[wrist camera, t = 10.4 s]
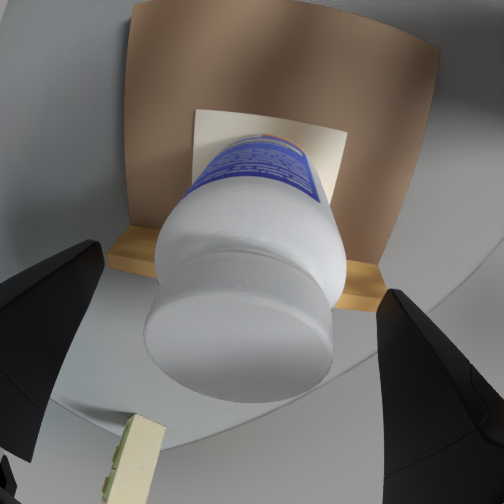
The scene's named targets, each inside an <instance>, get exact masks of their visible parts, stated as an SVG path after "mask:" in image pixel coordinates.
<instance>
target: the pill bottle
mask: <svg viewBox="0 0 504 504" xmlns="http://www.w3.org/2000/svg"><path fill="white" fill-rule="evenodd" d="M155 269H156V275H157V279H158V282H159V285H160V289H159V291H158V293H157V295H156V297H155V299H154V302H153V304H152V306H151V309H150V311H149V314H148V316H147V318H146V321H145V325H144V332H143V336H144V342H145V346H146V349H147V351H148V353H149V355H150V356H151V358H152V360H153V361H154V362H155V363H156V365H157V366H158V367H159V368H160V369H161V370H162V371H163V372H164V373H165V374H166V375H168V376H169V377H170V378H172V379H173V380H175V381H176V382H178V383H179V384H181V385H183V386H184V387H187V388H189V389H191V390H193V391H195V392H198V393H200V394H203V395H206V396H210V397H213V398H216V399H221V400H226V401H232V402H241V403H265V402H274V401H280V400H285V399H288V398H292V397H295V396H298V395H300V394H302V393H304V392H306V391H308V390H310V389H312V388H313V387H315V386H316V385H317V384H319V383H320V382H321V381H322V380H323V379H324V377H325V376H326V375H327V374H328V372H329V370H330V368H331V365H332V363H333V358H334V343H333V331H332V314H331V311H332V310H333V309H334V307H335V306H336V304H337V303H338V301H339V298H340V296H341V294H342V291H343V289H344V285H345V279H346V254H345V250H344V246H343V243H342V239H341V236H340V234H339V231H338V228H337V225H336V222H335V219H334V216H333V214H332V211H331V208H330V205H329V203H328V200H327V197H326V194H325V192H324V189H323V186H322V184H321V181H320V178H319V175H318V173H317V170H316V168H315V166H314V164H313V162H312V160H311V159H310V157H309V156H308V155H307V153H306V152H305V151H304V150H303V149H302V148H301V147H299V146H298V145H297V144H295V143H294V142H292V141H291V140H289V139H286V138H284V137H281V136H278V135H273V134H252V135H247V136H243V137H241V138H238V139H236V140H234V141H232V142H231V143H229V144H228V145H226V146H225V147H224V148H223V149H222V150H221V151H220V152H219V153H218V154H217V155H216V156H215V157H214V159H213V160H212V161H211V162H210V163H209V165H208V166H207V167H206V168H205V170H204V171H203V172H202V173H201V175H200V176H199V177H198V178H197V179H196V181H195V182H194V183H193V185H192V186H191V187H190V188H189V190H188V191H187V192H186V194H185V195H184V196H183V197H182V199H181V200H180V201H179V203H178V204H177V205H176V207H175V208H174V209H173V211H172V212H171V214H170V215H169V216H168V218H167V220H166V221H165V223H164V225H163V227H162V229H161V231H160V233H159V236H158V239H157V244H156V249H155Z"/></svg>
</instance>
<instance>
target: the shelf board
mask: <svg viewBox="0 0 504 504" xmlns="http://www.w3.org/2000/svg"><path fill="white" fill-rule="evenodd" d="M439 57H440V48H438V47H436V46H434V45H432V44H430V43H428V42H426V41H424V40H422V39H420V38H418V37H416V36H413V35H411V34H409V33H406V32H404V31H402V30H399V29H397V28H394V27H392V26H389V25H386V24H383V23H381V22H378V21H375V20H372V19H369V18H366V17H363V16H359V15H356V14H353V13H349V12H345V11H342V10H338V9H334V8H329V7H325V6H320V5H315V4H310V3H305V2H299V1H293V0H153V1H147V2H141V3H135V4H134V5H133V11H132V17H131V24H130V31H129V40H128V49H127V60H126V73H125V93H124V150H125V171H126V186H127V198H128V208H129V217H130V226H129V227H128V228H127V230H126V231H125V232H124V233H123V234H122V235H121V237H120V238H119V239H118V240H117V241H116V242H115V244H114V245H113V246H112V247H111V248H110V250H109V251H108V252H107V253H106V255H107V259H108V264H109V268H111V269H115V270H119V271H124V272H129V273H133V274H138V275H143V276H147V277H152V278H157V275H156V269H155V249H156V244H157V239H158V236H159V233H160V231H161V229H162V227H163V225H164V223H165V221H166V220H167V218H168V216H169V215H170V214H171V212H172V211H173V209H174V208H175V207H176V205H177V204H178V203H179V201H180V200H181V199H182V197H183V196H184V195H185V194H186V192H187V191H188V190H189V188H190V187H191V186H192V185H193V183H194V182H195V181H196V179H197V178H198V177H199V176H200V175H201V173H202V172H203V171H204V170H205V168H206V167H207V166H208V165H209V163H210V162H211V161H212V160H213V159H214V157H215V156H216V155H217V154H218V153H219V152H220V151H221V150H222V149H223V148H224V147H225V146H226V145H228V144H229V143H231V142H232V141H234V140H236V139H238V138H241V137H243V136H247V135H252V134H273V135H278V136H281V137H284V138H286V139H289V140H291V141H292V142H294V143H295V144H297V145H298V146H299V147H301V148H302V149H303V150H304V151H305V152H306V153H307V155H308V156H309V157H310V159H311V160H312V162H313V164H314V166H315V168H316V170H317V173H318V175H319V178H320V181H321V184H322V186H323V189H324V192H325V194H326V197H327V200H328V203H329V205H330V208H331V211H332V214H333V216H334V219H335V222H336V225H337V228H338V231H339V234H340V236H341V239H342V243H343V246H344V250H345V254H346V279H345V285H344V289H343V291H342V294H341V296H340V298H339V301H338V303H337V304H336V306H335V307H334V308H342V309H350V310H359V311H367V312H376V311H377V308H378V306H379V304H380V302H381V300H382V298H383V296H384V295H385V293H386V291H387V289H386V286H385V283H384V281H383V278H382V275H381V273H380V270H379V268H378V263H379V260H380V258H381V256H382V254H383V251H384V249H385V247H386V244H387V242H388V240H389V237H390V235H391V232H392V230H393V227H394V225H395V222H396V220H397V217H398V214H399V212H400V209H401V206H402V204H403V201H404V198H405V195H406V192H407V189H408V186H409V183H410V180H411V177H412V174H413V171H414V168H415V165H416V161H417V158H418V155H419V151H420V148H421V144H422V140H423V137H424V133H425V129H426V125H427V121H428V116H429V112H430V108H431V103H432V98H433V93H434V88H435V82H436V77H437V71H438V64H439Z"/></svg>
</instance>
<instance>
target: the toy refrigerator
mask: <svg viewBox="0 0 504 504" xmlns="http://www.w3.org/2000/svg"><path fill="white" fill-rule="evenodd" d="M165 431H166V426H163V425H161V424H159V423H156V422H154V421H151V420H149V419H147V418H145V417H143V416H140V415H138V414H134V415H133V416H132V417H130V418H129V419H128V420H127V423H126V425H125V428H124V431H123V434H122V437H121V440H120V443H119V446H117V447H116V450H115V453H114V455H113V459H112V462H113V464H112V467H111V470H110V473H109V476H108V477H106V478H105V481H104V484H103V487H102V491H101V492H103V497H102V500H101V501H102V503H103V504H146V501H147V497H148V493H149V489H150V485H151V481H152V478H153V474H154V470H155V467H156V463H157V459H158V456H159V452H160V449H161V445H162V441H163V438H164V434H165Z"/></svg>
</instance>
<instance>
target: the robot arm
mask: <svg viewBox="0 0 504 504" xmlns="http://www.w3.org/2000/svg"><path fill="white" fill-rule="evenodd" d="M104 266H105V262H104V257H103V253H102V248H101V244H100V243H99V242H98V241H95V240H86V241H84V242H81V243H79V244H77V245H75V246H73V247H71V248H68V249H66V250H64V251H62V252H60V253H58V254H56V255H54V256H52V257H50V258H48V259H46V260H44V261H42V262H40V263H38V264H36V265H34V266H32V267H30V268H28V269H26V270H24V271H22V272H20V273H18V274H16V275H15V276H13V277H11V278H9V279H7V280H5V281H4V282H2V283H0V504H21V503H20V502H18V501H17V500H16V499H15V498H14V495H15V492H16V489H17V484H16V482H15V479H14V476H13V474H12V471H11V468H10V465H9V462H8V458H7V456H6V455H4V454H3V453H4V450H6V451H8V452H10V453H12V454H13V455H15V456H17V457H19V458H21V459H23V460H25V461H27V462H29V463H31V461H32V457H33V453H34V448H35V444H36V441H37V437H38V434H39V430H40V427H41V423H42V420H43V417H44V412H45V410H46V407H47V404H48V401H49V398H50V395H51V393H52V390H53V387H54V384H55V382H56V379H57V376H58V374H59V371H60V369H61V366H62V364H63V361H64V359H65V357H66V354H67V352H68V350H69V347H70V345H71V343H72V341H73V338H74V336H75V334H76V332H77V330H78V327H79V325H80V323H81V321H82V319H83V317H84V315H85V313H86V311H87V309H88V306H89V304H90V302H91V299H92V297H93V294H94V292H95V289H96V287H97V284H98V282H99V279H100V277H101V275H102V272H103V270H104ZM376 320H377V346H378V363H379V371H380V381H381V393H382V404H383V405H382V406H383V423H384V475H385V476H384V485H383V504H504V399H503V398H502V397H501V396H500V395H499V394H498V393H497V392H496V391H495V390H494V389H493V387H492V386H491V385H490V384H489V383H488V382H487V381H486V380H485V379H484V377H483V376H482V375H480V373H479V372H478V371H477V369H476V368H475V367H474V366H473V365H472V364H470V362H469V360H468V359H467V358H466V357H465V356H464V355H463V354H462V353H461V351H459V349H458V348H457V347H456V346H455V345H454V344H453V343H452V342H451V340H449V338H448V337H447V336H446V335H445V334H444V333H443V332H442V331H441V330H440V329H439V328H438V327H437V326H436V325H435V324H434V323H433V322H432V321H431V319H430V318H429V317H428V316H427V315H426V314H425V313H424V312H423V311H422V310H421V309H420V308H419V307H418V306H417V305H416V304H415V303H414V302H413V301H412V300H411V299H410V298H408V297H407V296H406V295H405V294H404V293H403V292H402V291H401V290H399V289H391V288H390V289H388V290H387V291H386V293H385V295H384V296H383V298H382V300H381V302H380V304H379V306H378V308H377V311H376Z"/></svg>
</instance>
